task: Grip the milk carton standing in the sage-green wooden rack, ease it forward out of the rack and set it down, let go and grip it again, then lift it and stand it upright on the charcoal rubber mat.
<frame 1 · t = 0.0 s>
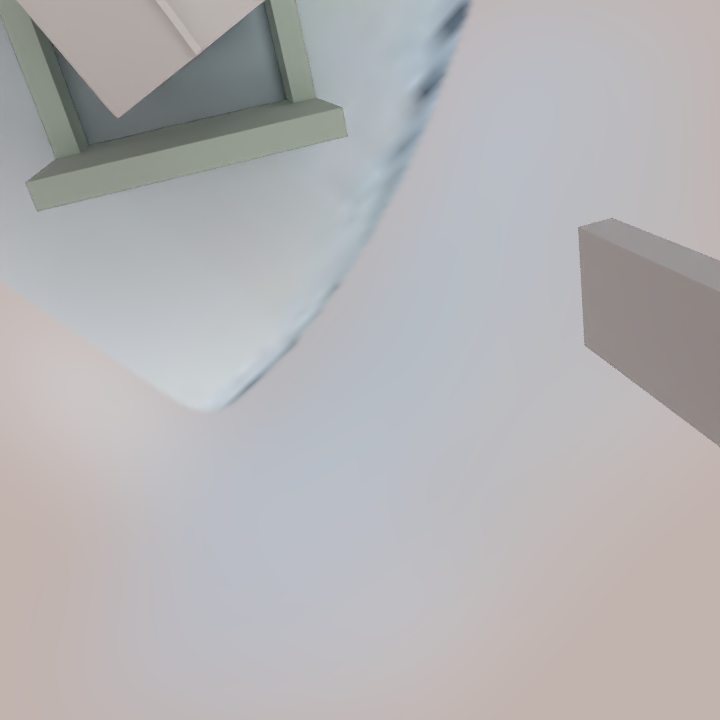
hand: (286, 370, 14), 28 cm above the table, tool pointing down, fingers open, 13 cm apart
rack: (156, 11, 35), on the table
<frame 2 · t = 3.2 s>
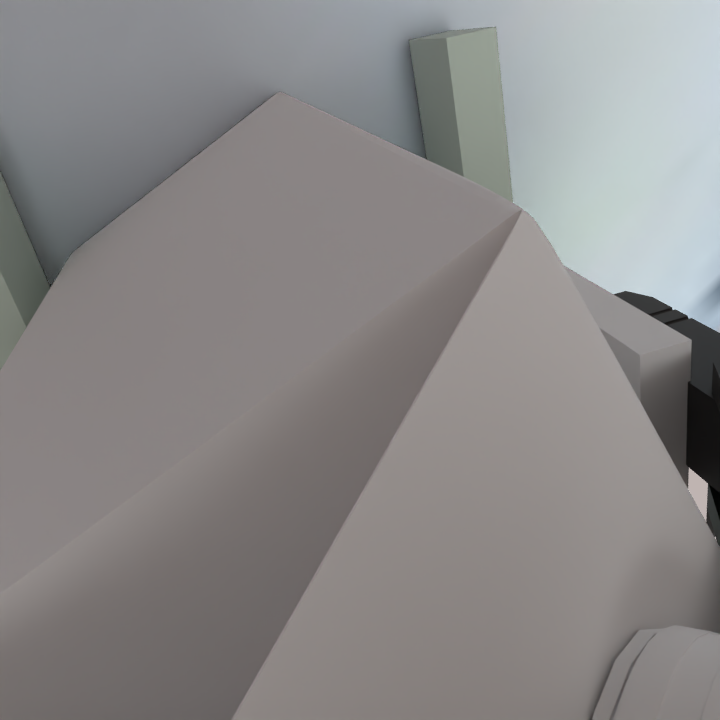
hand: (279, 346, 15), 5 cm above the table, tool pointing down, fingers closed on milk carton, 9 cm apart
rack: (265, 304, 20), on the table
milk carton: (256, 270, 20), on the table, touching gripper
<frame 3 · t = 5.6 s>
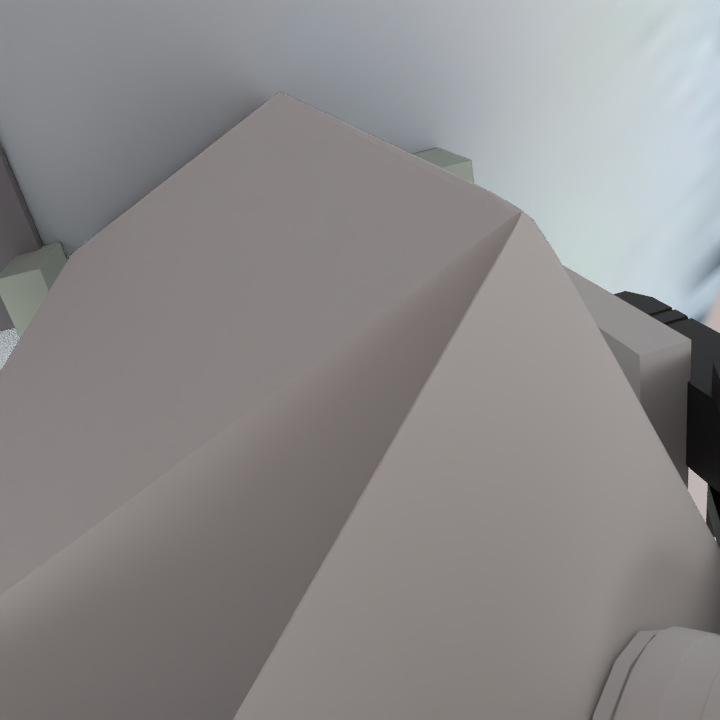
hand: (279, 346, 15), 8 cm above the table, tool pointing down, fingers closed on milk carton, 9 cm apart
rack: (283, 367, 24), on the table
milk carton: (256, 270, 20), point 2 cm above the table, touching gripper
when the fingers open (7 cm above the table, at t = 8.3 s): milk carton drops 1 cm, on the table.
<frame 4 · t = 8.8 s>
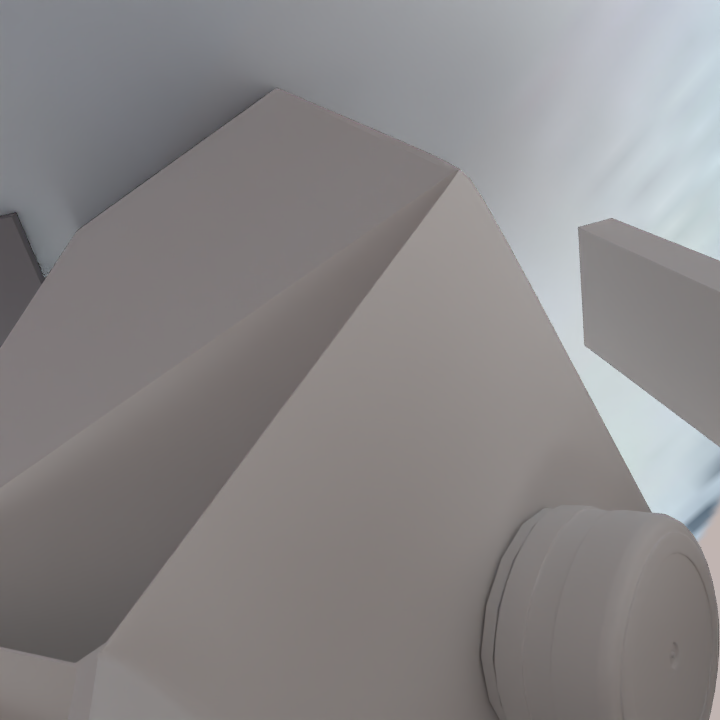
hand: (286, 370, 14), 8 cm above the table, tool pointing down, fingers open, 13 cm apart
milk carton: (249, 255, 21), on the table
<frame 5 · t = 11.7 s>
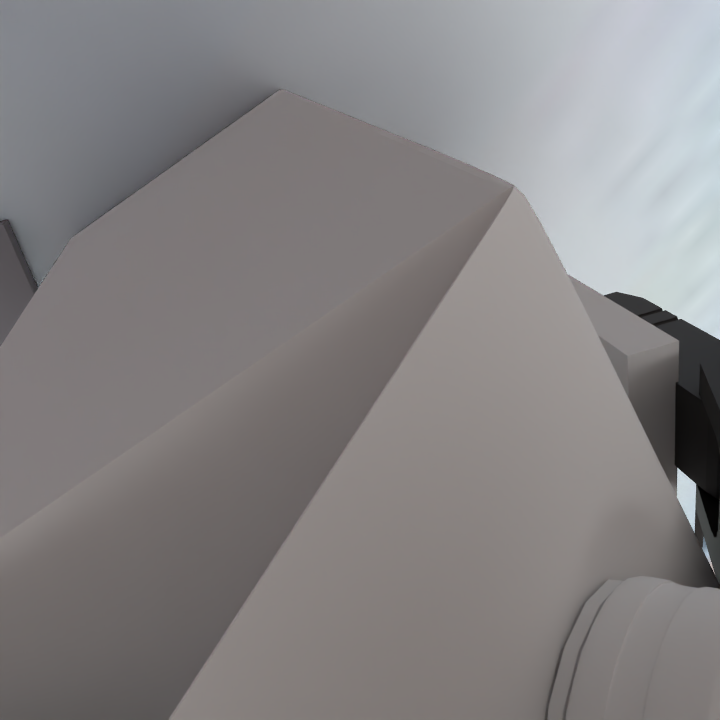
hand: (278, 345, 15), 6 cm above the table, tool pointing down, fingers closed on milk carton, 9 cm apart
milk carton: (252, 263, 20), on the table, touching gripper
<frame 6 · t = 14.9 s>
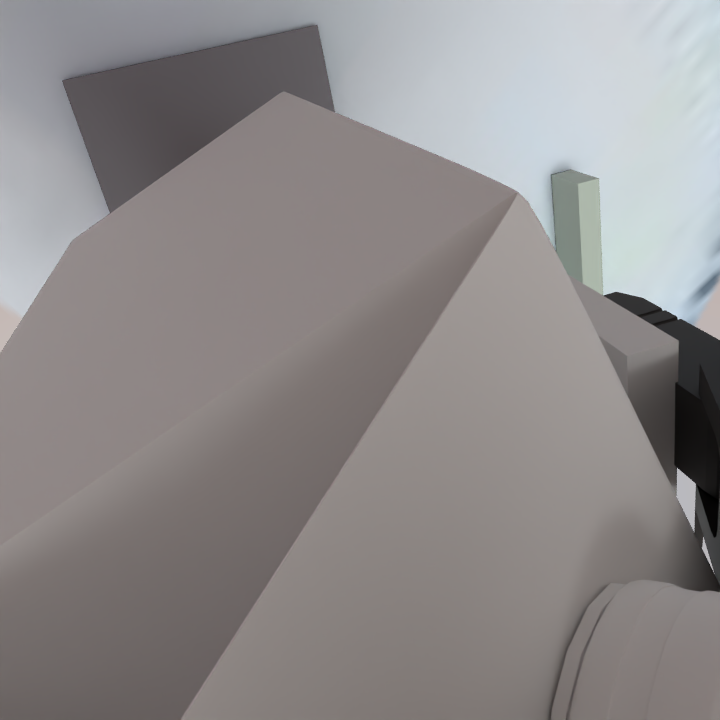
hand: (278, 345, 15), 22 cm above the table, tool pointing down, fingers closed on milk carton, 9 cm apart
mat: (227, 179, 35), on the table
rack: (472, 298, 40), on the table
milk carton: (253, 265, 20), point 16 cm above the table, touching gripper
when the fingers open (8 cm above the table, at t = 18.0 s): milk carton drops 1 cm, resting on mat.
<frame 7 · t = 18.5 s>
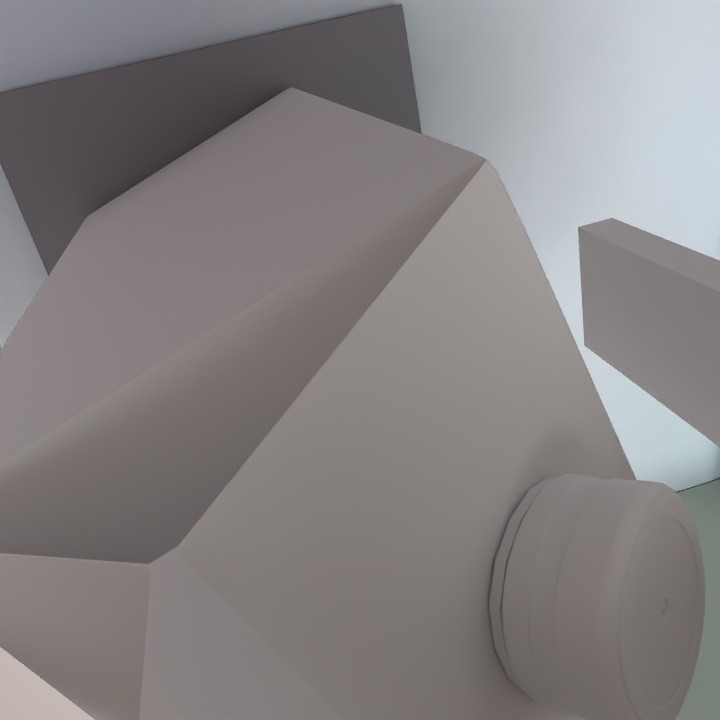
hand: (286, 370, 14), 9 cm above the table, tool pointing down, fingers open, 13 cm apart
mat: (251, 251, 22), on the table
rack: (604, 409, 28), on the table
milk carton: (254, 248, 22), resting on mat
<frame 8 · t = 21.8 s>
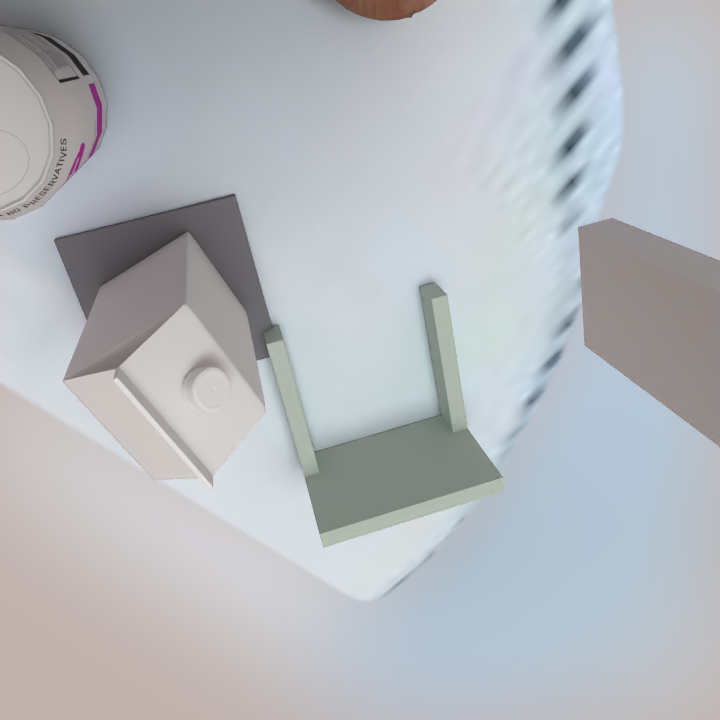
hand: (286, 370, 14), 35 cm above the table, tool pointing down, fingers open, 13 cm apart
supplement can: (37, 104, 41), on the table
mat: (174, 299, 48), on the table
rack: (365, 375, 54), on the table
milk carton: (176, 298, 48), resting on mat
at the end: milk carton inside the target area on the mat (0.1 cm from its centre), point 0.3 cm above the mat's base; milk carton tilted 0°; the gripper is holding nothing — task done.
